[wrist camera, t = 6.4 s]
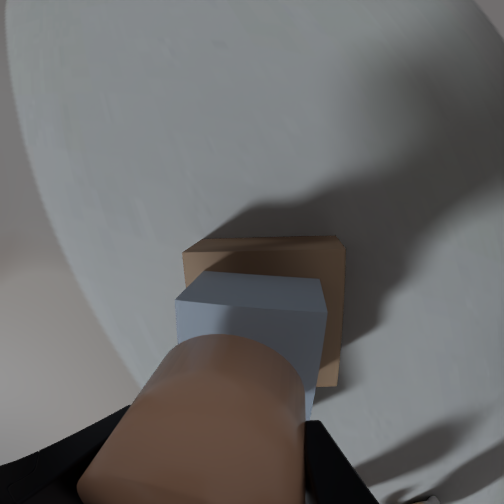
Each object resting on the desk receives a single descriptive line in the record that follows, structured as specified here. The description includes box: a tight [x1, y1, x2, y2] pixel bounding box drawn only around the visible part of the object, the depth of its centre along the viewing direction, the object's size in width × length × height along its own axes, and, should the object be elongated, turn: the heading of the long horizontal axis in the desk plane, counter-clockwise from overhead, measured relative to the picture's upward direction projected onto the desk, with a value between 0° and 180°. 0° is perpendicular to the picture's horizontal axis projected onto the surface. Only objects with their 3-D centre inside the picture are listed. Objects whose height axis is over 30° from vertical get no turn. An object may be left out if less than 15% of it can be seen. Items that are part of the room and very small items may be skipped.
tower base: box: [182, 236, 346, 387], centre depth 15 cm, size 7×7×4 cm
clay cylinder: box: [77, 334, 306, 504], centre depth 6 cm, size 5×5×5 cm
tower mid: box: [175, 271, 328, 421], centre depth 12 cm, size 5×5×4 cm
